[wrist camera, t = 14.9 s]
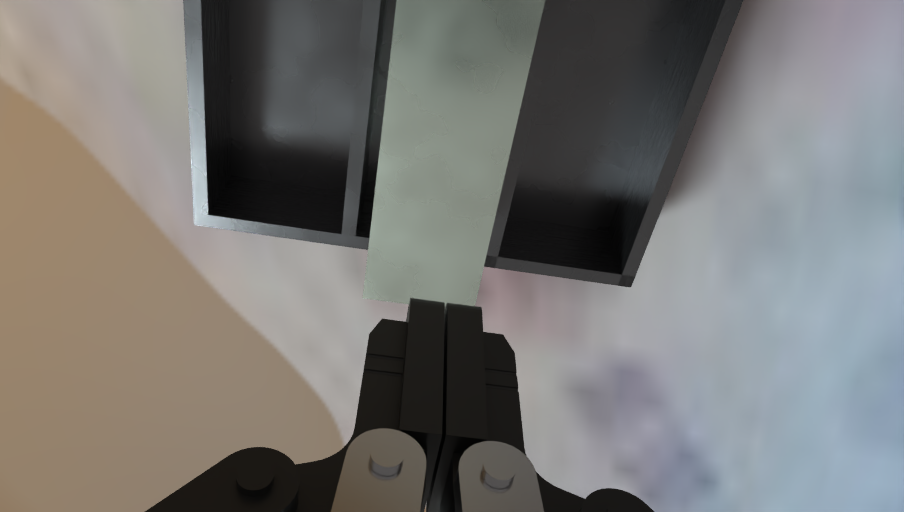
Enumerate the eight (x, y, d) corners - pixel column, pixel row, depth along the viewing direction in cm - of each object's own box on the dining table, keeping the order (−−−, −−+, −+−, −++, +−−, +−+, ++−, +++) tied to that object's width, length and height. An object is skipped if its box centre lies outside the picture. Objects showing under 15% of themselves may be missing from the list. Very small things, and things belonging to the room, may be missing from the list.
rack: (735, -108, 26) (780, -90, 22) (613, 236, 35) (631, 290, 31) (214, -211, 24) (170, -210, 21) (222, 178, 33) (192, 227, 29)
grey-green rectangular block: (526, -89, 26) (553, -36, 18) (469, 191, 33) (473, 312, 25) (419, -108, 26) (403, -63, 18) (384, 179, 32) (362, 298, 25)
